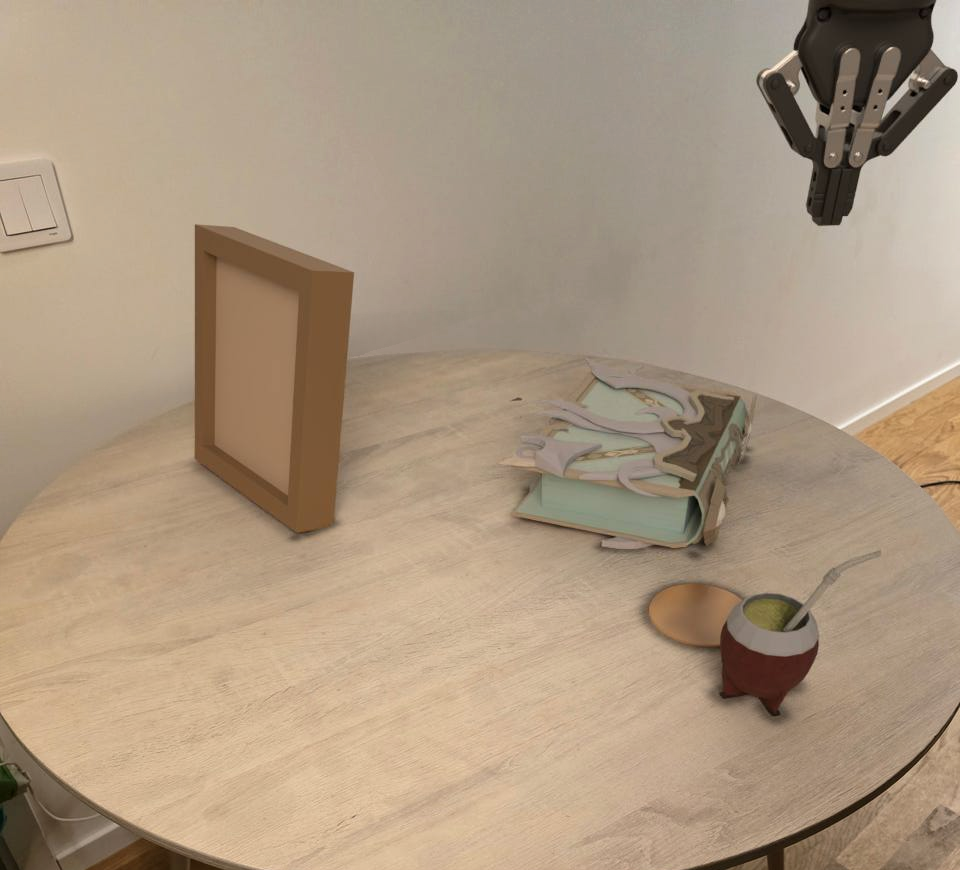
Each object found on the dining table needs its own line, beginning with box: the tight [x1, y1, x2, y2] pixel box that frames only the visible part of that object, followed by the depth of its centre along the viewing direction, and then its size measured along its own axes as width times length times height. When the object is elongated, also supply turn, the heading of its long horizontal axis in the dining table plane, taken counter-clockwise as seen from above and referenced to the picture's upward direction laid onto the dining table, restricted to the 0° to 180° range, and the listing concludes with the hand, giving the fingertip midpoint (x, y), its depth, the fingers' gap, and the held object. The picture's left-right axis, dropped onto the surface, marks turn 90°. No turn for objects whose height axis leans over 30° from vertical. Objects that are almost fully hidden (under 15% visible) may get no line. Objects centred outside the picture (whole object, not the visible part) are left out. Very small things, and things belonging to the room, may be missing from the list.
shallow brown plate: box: [648, 583, 743, 648], centre depth 78 cm, size 9×9×1 cm
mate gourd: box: [718, 549, 882, 718], centre depth 66 cm, size 8×8×15 cm
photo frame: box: [194, 223, 355, 534], centre depth 92 cm, size 15×22×25 cm
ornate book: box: [497, 357, 758, 550], centre depth 95 cm, size 23×10×30 cm
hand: (825, 222), depth 64 cm, fingers closed
